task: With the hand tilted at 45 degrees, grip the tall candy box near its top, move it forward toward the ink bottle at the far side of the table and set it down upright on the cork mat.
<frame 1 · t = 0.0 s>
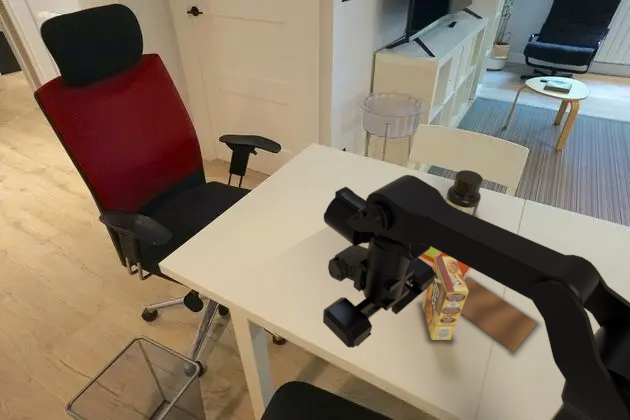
hand: (375, 327, 61), 15 cm above the table, tool pointing down, fingers open, 9 cm apart
cork mat: (489, 312, 80), on the table
candy box: (434, 322, 79), on the table
ink bottle: (458, 212, 107), on the table
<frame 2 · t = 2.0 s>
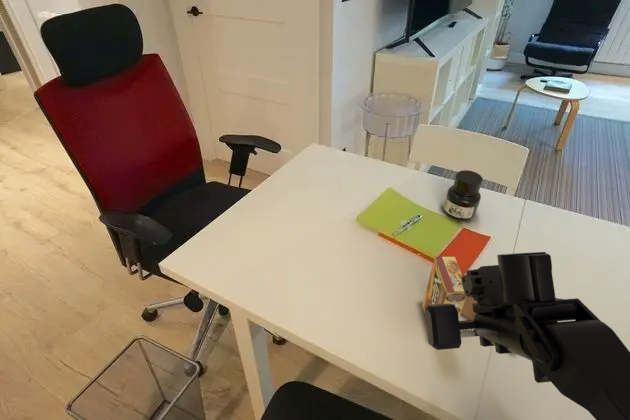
hand: (463, 314, 64), 13 cm above the table, tool tilted 45°, fingers open, 9 cm apart
nothing on the table moved.
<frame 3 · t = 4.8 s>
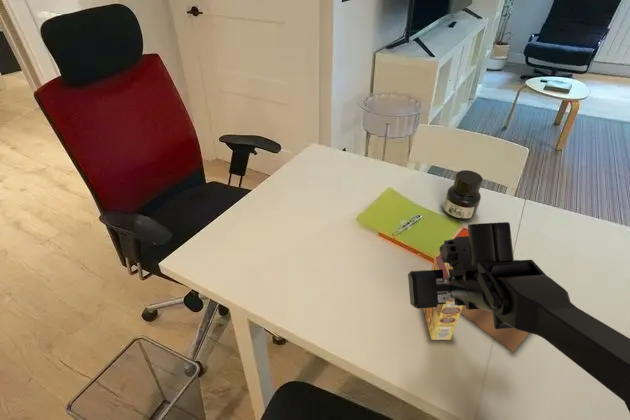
hand: (444, 282, 73), 11 cm above the table, tool tilted 45°, fingers closed on candy box, 4 cm apart
candy box: (434, 322, 79), on the table, touching gripper
everything else where it was.
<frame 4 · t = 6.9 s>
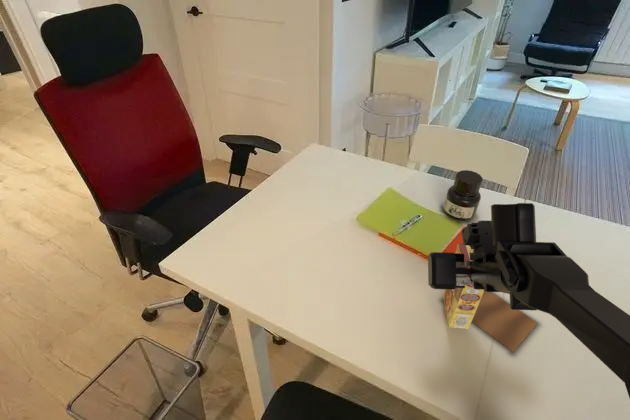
hand: (466, 269, 72), 13 cm above the table, tool tilted 45°, fingers closed on candy box, 4 cm apart
candy box: (454, 311, 78), point 2 cm above the table, touching gripper
everything else where it was.
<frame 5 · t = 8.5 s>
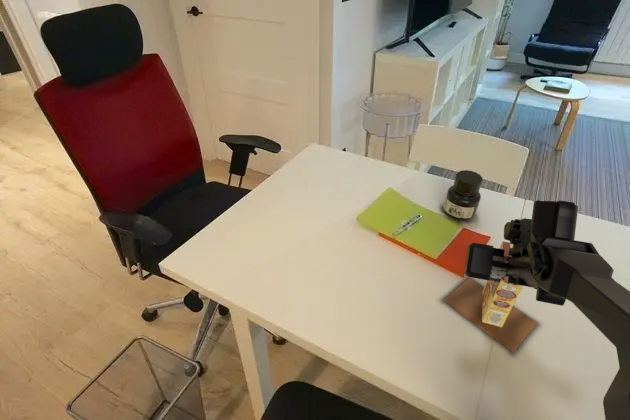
hand: (507, 268, 73), 13 cm above the table, tool tilted 45°, fingers closed on candy box, 4 cm apart
candy box: (490, 309, 79), point 1 cm above the table, touching gripper
everything else where it was.
when the fingers open (12 cm above the table, at t = 9.3 s): candy box stays where it is, resting on cork mat.
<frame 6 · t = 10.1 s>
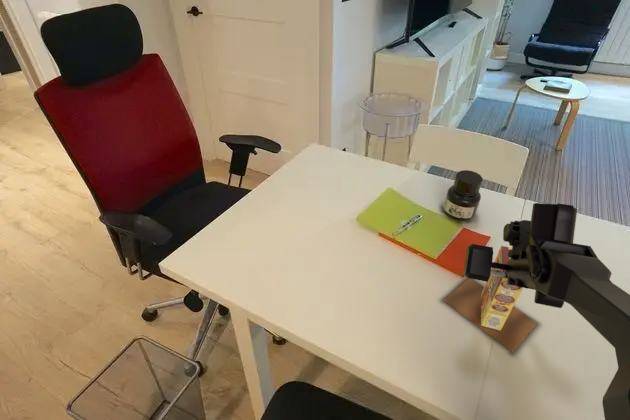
hand: (506, 268, 74), 12 cm above the table, tool tilted 45°, fingers open, 9 cm apart
candy box: (489, 312, 80), resting on cork mat
everything else where it was.
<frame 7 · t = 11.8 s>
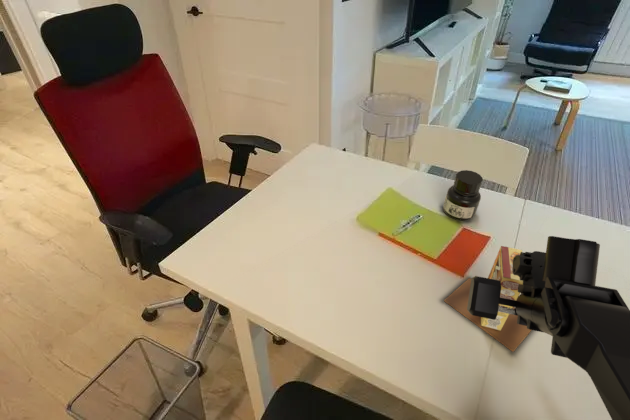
hand: (515, 301, 66), 13 cm above the table, tool tilted 45°, fingers open, 9 cm apart
nothing on the table moved.
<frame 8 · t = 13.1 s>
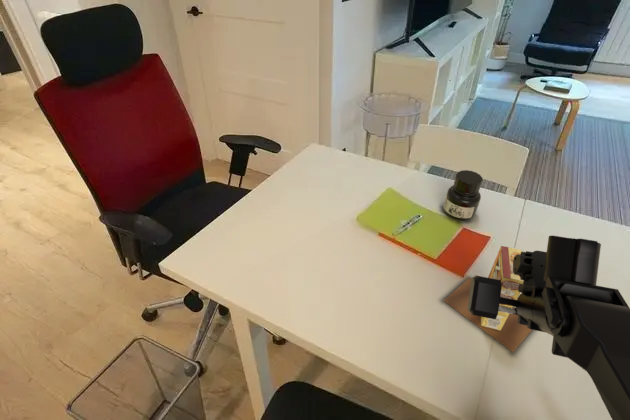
hand: (515, 300, 66), 14 cm above the table, tool tilted 45°, fingers open, 9 cm apart
nothing on the table moved.
at the end: candy box inside the target area on the cork mat (0.2 cm from its centre), point 0.2 cm above the cork mat's base; candy box tilted 0°; candy box 34.9 cm from the ink bottle (horizontally) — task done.
